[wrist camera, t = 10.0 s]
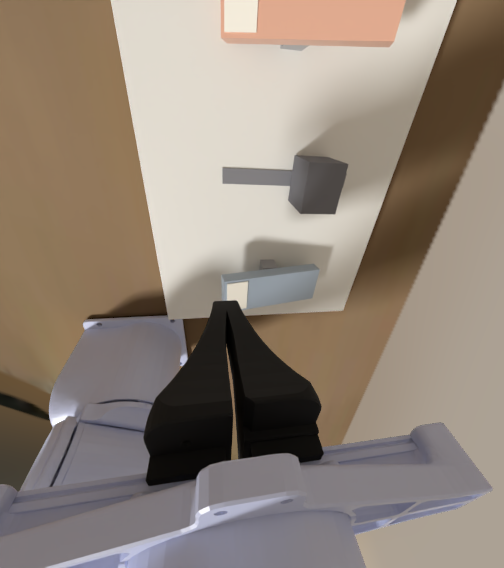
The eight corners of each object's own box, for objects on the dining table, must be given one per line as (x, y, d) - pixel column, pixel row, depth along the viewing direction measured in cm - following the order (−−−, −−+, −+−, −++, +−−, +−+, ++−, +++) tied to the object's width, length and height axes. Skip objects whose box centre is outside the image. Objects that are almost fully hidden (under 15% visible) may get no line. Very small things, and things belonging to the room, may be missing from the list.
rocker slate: (221, 305, 20) (224, 313, 19) (221, 274, 18) (224, 282, 17) (306, 291, 22) (312, 298, 21) (313, 263, 20) (320, 270, 20)
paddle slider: (287, 200, 18) (300, 213, 15) (294, 155, 16) (309, 162, 14) (318, 201, 18) (335, 214, 16) (327, 156, 17) (348, 164, 14)
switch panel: (171, 306, 25) (166, 330, 22) (90, -181, 10) (44, -296, 7) (335, 298, 27) (349, 319, 25) (463, -88, 13) (533, -145, 10)
